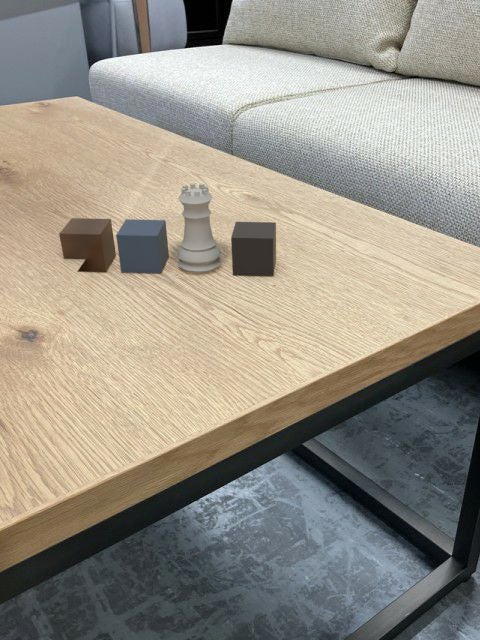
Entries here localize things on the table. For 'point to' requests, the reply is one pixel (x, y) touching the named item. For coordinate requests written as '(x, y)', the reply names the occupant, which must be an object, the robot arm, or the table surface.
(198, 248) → the rook chess piece
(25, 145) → the table surface
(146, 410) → the table surface
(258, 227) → the block
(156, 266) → the block
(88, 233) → the block
